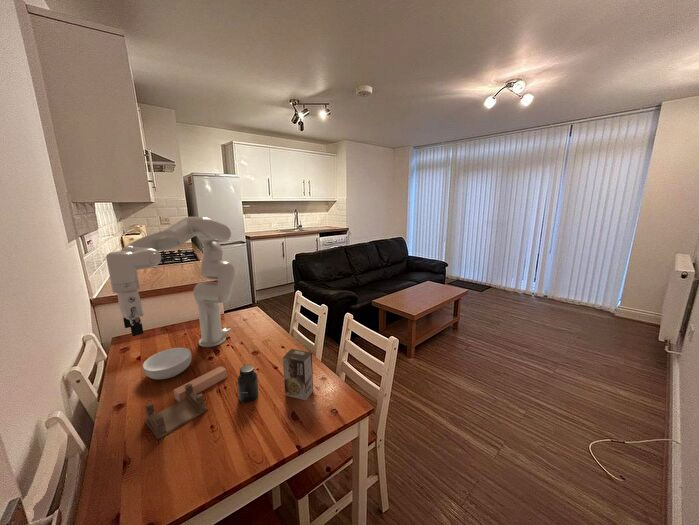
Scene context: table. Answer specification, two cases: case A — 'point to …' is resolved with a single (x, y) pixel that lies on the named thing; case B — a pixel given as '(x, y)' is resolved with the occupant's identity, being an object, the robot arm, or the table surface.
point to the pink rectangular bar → (201, 382)
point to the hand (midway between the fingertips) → (134, 330)
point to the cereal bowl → (167, 363)
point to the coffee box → (298, 374)
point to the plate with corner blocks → (175, 413)
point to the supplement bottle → (247, 384)
